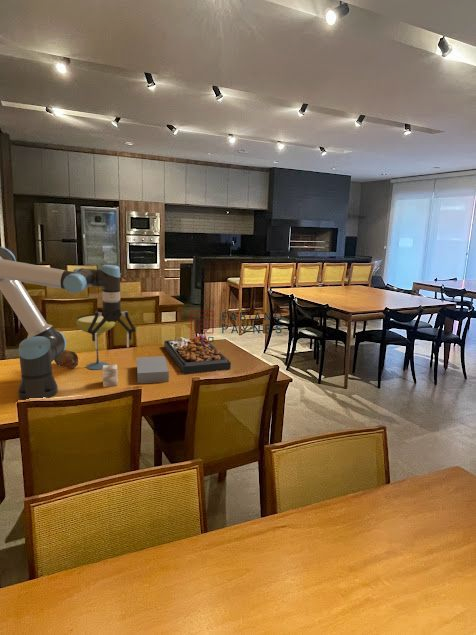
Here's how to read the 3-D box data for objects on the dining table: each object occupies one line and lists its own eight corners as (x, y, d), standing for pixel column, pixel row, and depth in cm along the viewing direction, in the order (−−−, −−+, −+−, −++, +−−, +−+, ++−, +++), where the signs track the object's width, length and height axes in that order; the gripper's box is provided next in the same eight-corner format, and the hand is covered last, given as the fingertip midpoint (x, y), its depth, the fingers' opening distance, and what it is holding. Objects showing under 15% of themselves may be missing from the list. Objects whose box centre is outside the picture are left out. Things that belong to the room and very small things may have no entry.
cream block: (103, 386, 186) (102, 369, 184) (104, 381, 192) (103, 365, 190) (117, 385, 188) (116, 369, 186) (117, 380, 193) (117, 364, 191)
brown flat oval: (53, 364, 211) (52, 348, 209) (58, 362, 213) (57, 347, 211) (74, 370, 204) (73, 354, 202) (79, 368, 207) (79, 352, 205)
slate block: (137, 383, 191) (137, 373, 189) (136, 366, 211) (136, 357, 210) (168, 381, 194) (168, 371, 193) (164, 365, 215) (164, 356, 214)
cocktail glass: (123, 363, 216) (122, 316, 210) (102, 374, 199) (100, 324, 194) (93, 358, 221) (91, 312, 216) (70, 369, 205) (67, 320, 199)
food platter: (164, 348, 245) (164, 331, 242) (204, 344, 254) (204, 328, 251) (183, 375, 204) (183, 355, 202) (230, 370, 213) (231, 351, 211)
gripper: (80, 302, 174) (82, 351, 179) (141, 302, 182) (141, 348, 187) (81, 299, 181) (82, 345, 186) (139, 298, 189) (139, 343, 194)
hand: (112, 347), depth 187 cm, fingers open, 13 cm apart
